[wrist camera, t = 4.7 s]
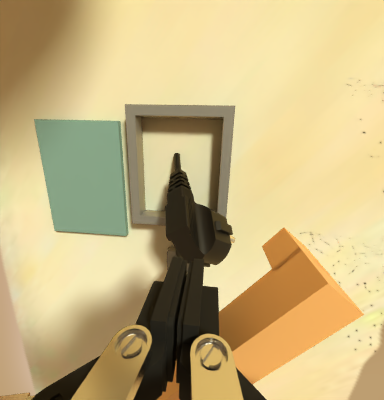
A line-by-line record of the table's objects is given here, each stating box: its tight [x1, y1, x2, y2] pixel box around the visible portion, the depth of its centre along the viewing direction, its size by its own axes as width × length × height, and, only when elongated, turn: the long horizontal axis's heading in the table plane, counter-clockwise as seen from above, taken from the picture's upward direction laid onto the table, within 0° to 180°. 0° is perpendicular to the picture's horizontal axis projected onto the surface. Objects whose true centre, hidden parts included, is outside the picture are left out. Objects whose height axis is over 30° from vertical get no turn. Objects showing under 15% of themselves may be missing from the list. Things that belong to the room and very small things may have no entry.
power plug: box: [165, 153, 235, 267], centre depth 22 cm, size 6×8×12 cm
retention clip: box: [157, 228, 364, 400], centre depth 11 cm, size 15×3×5 cm, turn 140°
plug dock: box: [125, 104, 235, 272], centre depth 17 cm, size 20×11×18 cm, turn 178°
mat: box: [34, 119, 128, 236], centre depth 25 cm, size 14×10×1 cm
